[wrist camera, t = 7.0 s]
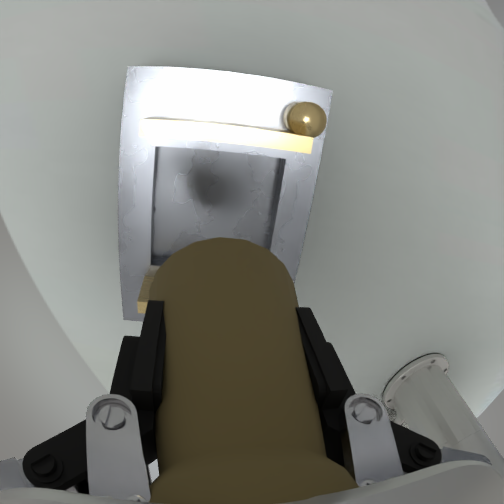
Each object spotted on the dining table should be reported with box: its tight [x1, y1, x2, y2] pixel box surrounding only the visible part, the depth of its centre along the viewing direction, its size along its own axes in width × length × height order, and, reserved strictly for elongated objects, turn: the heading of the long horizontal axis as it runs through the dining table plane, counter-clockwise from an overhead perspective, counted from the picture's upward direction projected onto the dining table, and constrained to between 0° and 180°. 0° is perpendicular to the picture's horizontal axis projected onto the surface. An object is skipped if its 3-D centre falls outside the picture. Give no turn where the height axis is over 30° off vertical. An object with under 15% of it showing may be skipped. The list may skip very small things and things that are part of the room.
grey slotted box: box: [118, 66, 333, 321], centre depth 24 cm, size 20×14×10 cm
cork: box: [149, 237, 359, 504], centre depth 8 cm, size 6×6×11 cm
